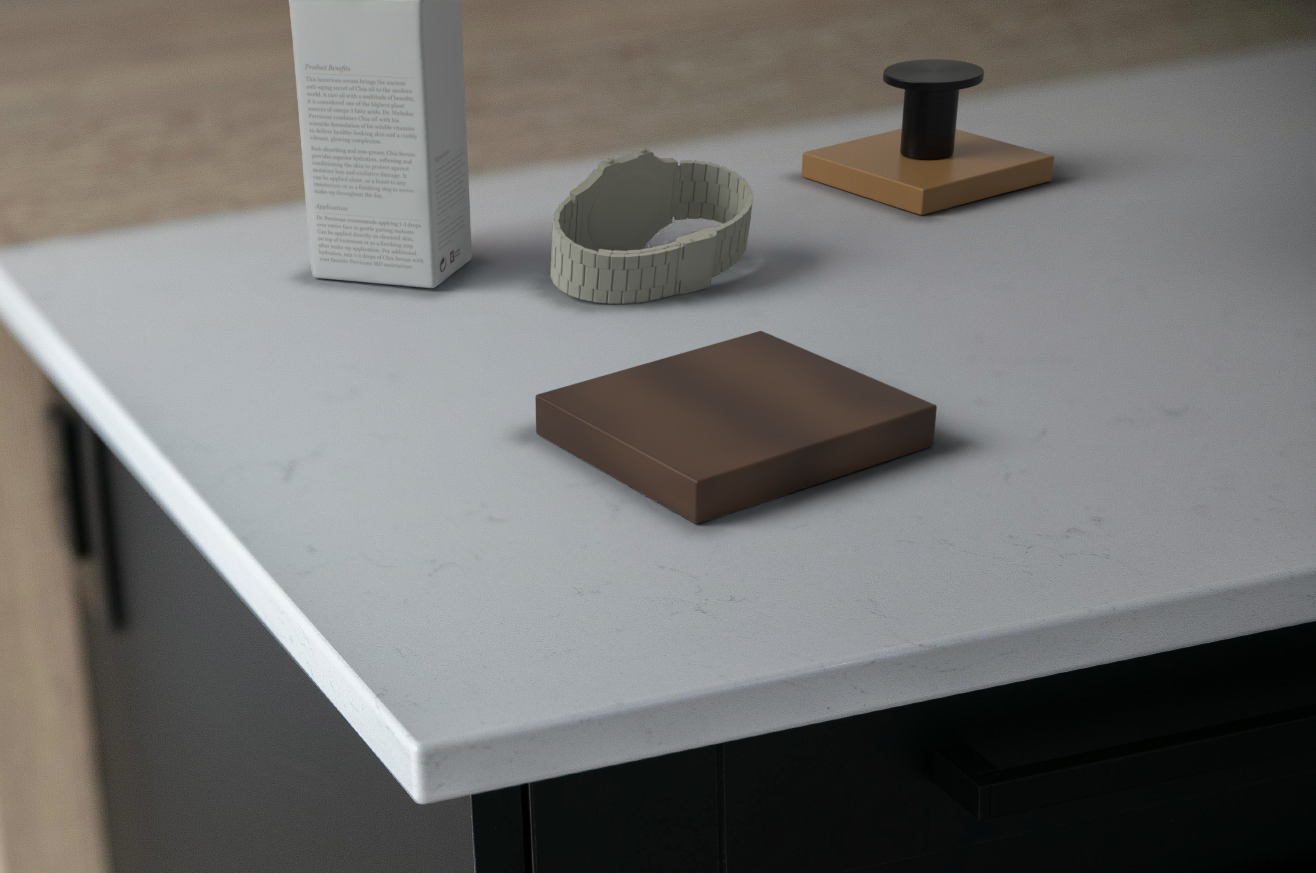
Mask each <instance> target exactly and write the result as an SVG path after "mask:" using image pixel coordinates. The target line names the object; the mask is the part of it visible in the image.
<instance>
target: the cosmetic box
mask: <svg viewBox="0 0 1316 873" xmlns="http://www.w3.org/2000/svg"><path fill="white" fill-rule="evenodd" d="M288 6H289V16H290V27H291V28H290V29H291V36H292V37H291V38H292V48H293V49H292V50H293V51H292V52H293V60H294V74H295V87H296V99H297V110H298V123H299V124H298V125H299V133H300V134H299V135H300V145H301V147H300V148H301V158H302V159H301V160H302V174H303V184H304V185H303V186H304V199H305V208H306V209H305V212H306V223H307V233H308V234H307V235H308V247H309V262H310V270H311V271H310V272H311V275H312V277H313V278H316V279H325V280H326V279H327V280H336V281H337V280H338V281H349V282H360V283H372V284H383V285H394V286H403V287H404V286H405V287H416V288H426V289H434V288H436V287H438V286H439V285H441V284H442V283H443V282H444V281H446V280H447V279H448V278H449V277H450V276H452V275H453V274H454V273H455V272H457V271H458V270H459V269H461V268H462V267H463V266H465V265H466V264H467V263H468V262H470V261H471V259H472V255H473V249H472V231H471V230H472V228H471V203H470V202H471V201H470V200H471V199H470V180H469V178H470V177H469V159H468V157H469V156H468V155H469V154H468V136H467V135H468V134H467V133H468V132H467V113H466V112H467V109H466V91H465V90H466V89H465V86H466V85H465V67H464V66H465V64H464V43H463V42H464V41H463V40H464V39H463V24H462V22H463V20H462V0H288Z"/></svg>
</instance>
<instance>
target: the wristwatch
mask: <svg viewBox="0 0 1316 873" xmlns="http://www.w3.org/2000/svg"><path fill="white" fill-rule="evenodd" d="M753 201H754V193H753V190H752V186H751V185H750V184H749V183H748V181H747V180H746V179H745V177H743V176H741V175H740V174H739V173H738V172H736V171H735V170H732V169H730V168H728V167H726V166H723V165H720V164H719V163H718V164H717V163H715V162H714V163H713V162H710V161H709V162H707V161H704V160H703V161H702V160H691V159H690V160H684V159H681V160H679V161H678V160H676V159H675V158H673V157H658V156H656V155H655V153H654V152H653V151H652V150H650V149H649V148H647V147H640V148H639V149H635V150H633V151H632V152H631V153H629V154H625V155H622V156H619V157H617V158H615V157H608V158H606V159H605V160H603V161H600V162H599V163H598V164H597V167H596V168H594V169H593V170H592V171H591V172H590V173H589V174H588V175H587V177H586V178H585V179H584V180H583V181H582V182H580V183H579V184H578V185H577V186H576V187H574V188H573V189H571V190H570V191H569V196H566V198H565V199H564V200H562V202H561V203H559V204H558V206H557V208H556V209H555V211H554V213H553V221H552V234H551V235H552V236H551V253H550V254H551V256H550V279H551V281H552V284H553V285H554V286H555V287H556V288H557V289H558V290H559V291H561V292H563V293H564V294H567V295H568V296H569V297H573V298H576V299H580V301H581V300H583V301H587V302H593V303H601V304H608V305H609V304H610V305H613V304H622V305H625V304H634V303H645V302H649V301H656V300H659V299H662V298H668V297H671V296H674V295H685V294H689V293H693V292H696V291H700V290H701V291H702V290H704V289H707V288H710V286H711V285H712V278H714V277H716V276H719V275H720V274H722V273H723V272H726V271H727V270H729V269H730V268H732V267H733V266H734V265H736V264H737V263H738V262H739V261H740V260H741V259H742V258H743V256H744V254H745V252H746V251H747V247H748V239H749V233H750V226H751V218H752V209H753V203H754V202H753ZM673 219H674V220H675V221H682V220H700V219H701V220H708V221H715V222H718V223H720V224H721V225H718V226H716V227H713V226H710V227H707V228H703V229H701V230H698V231H695V232H691V233H688V234H686V235H683V236H679V237H677V238H676V241H672V242H668V243H666V244H660V245H656V246H654V247H647V248H646V246H647V244H648V243H649V242H650V241H651V240H652V239H653V238H654V237H655V236H656V235H657V234H658V233H659V232H660V231H661V230H663V229H664V228H666V227H668V226H670V225H671V224H673Z"/></svg>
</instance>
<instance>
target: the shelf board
mask: <svg viewBox="0 0 1316 873" xmlns="http://www.w3.org/2000/svg"><path fill="white" fill-rule="evenodd" d="M937 410H938V406H937V405H936V404H935V403H932V402H930V401H927V400H926V399H923V398H920V397H918V396H915V395H913V394H911V393H908V392H907V391H904V390H901V389H899V388H897V387H895V386H892V385H889V384H887V383H885V382H883V381H881V380H878V379H876V378H873V377H871V376H868V375H866V374H864V373H861V372H859V371H856V370H855V369H852V368H850V367H847V366H845V365H843V364H840V363H838V362H835V361H833V360H831V359H829V358H827V357H824V356H821V355H819V354H817V353H814V352H812V351H810V350H807V349H805V348H803V347H801V346H798V345H796V344H793V343H791V342H789V341H787V340H784V339H782V338H780V337H778V336H774V335H773V334H771V333H768V332H765V331H763V330H758V331H755V332H750V333H748V334H743V335H740V336H737V337H733V338H729V339H726V340H723V341H720V342H716V343H712V344H709V345H705V346H702V347H699V348H695V349H692V350H688V351H684V352H680V353H677V354H673V355H670V356H667V357H663V358H660V359H657V360H653V361H649V362H646V363H643V364H639V365H635V366H631V367H629V368H625V369H621V370H618V371H614V372H611V373H608V374H603V375H600V376H597V377H593V378H590V379H586V380H582V381H580V382H576V383H572V384H569V385H566V386H562V387H558V388H555V389H552V390H548V391H544V392H541V393H537V394H536V395H535V433H536V435H538V436H540V437H542V438H543V439H544V440H547V441H548V442H551V443H552V444H554V445H555V446H557V447H559V448H561V449H562V450H565V451H566V452H568V453H570V454H571V455H573V456H575V457H577V458H578V459H581V460H582V461H584V462H586V463H587V464H589V465H590V466H593V467H594V468H596V469H598V470H599V471H601V472H603V473H605V474H607V475H609V476H611V477H612V478H614V479H615V480H617V481H619V482H621V483H623V484H624V485H626V486H628V487H630V488H631V489H633V490H634V491H637V492H638V493H641V494H642V495H644V496H646V497H647V498H649V499H651V500H653V501H655V502H656V503H658V504H660V505H661V506H663V507H665V508H667V509H669V510H670V511H672V512H674V513H675V514H678V515H679V516H681V517H683V518H684V519H686V520H688V521H690V522H691V523H693V524H700V523H703V522H707V521H710V520H713V519H716V518H718V517H719V518H720V517H722V516H725V515H729V514H731V513H734V512H737V511H740V510H743V509H746V508H749V507H752V506H755V505H758V504H761V503H764V502H767V501H770V500H774V499H776V498H779V497H782V496H785V495H789V494H791V493H794V492H797V491H800V490H803V489H806V488H810V487H813V486H817V485H819V484H822V483H825V482H827V481H830V480H834V479H836V478H841V477H843V476H846V475H849V474H852V473H855V472H858V471H861V470H865V469H867V468H870V467H873V466H877V465H880V464H882V463H885V462H889V461H891V460H893V459H897V458H900V457H903V456H906V455H909V454H912V453H915V452H918V451H921V450H924V449H928V448H930V447H933V446H934V443H935V431H936V420H937Z"/></svg>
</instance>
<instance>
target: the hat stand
mask: <svg viewBox="0 0 1316 873" xmlns="http://www.w3.org/2000/svg"><path fill="white" fill-rule="evenodd" d="M984 77H985V71H984V68H983V67H981V66H980V65H977V64H975V63H971V62H969V61H968V62H967V61H962V60H955V59H938V58H937V59H936V58H931V59H929V58H928V59H927V58H926V59H914V60H906V61H902V62H897V63H894V64H890V65H889V66H886V67H885V68H884V70H883V74H882V80H883V82H884V83H885V84H886V85H888V86H890V87H893V88H896V89H901V90H904V93H903V94H904V95H903V106H902V119H901V120H902V121H901V128H897V129H894V130H889V131H885V132H881V133H877V134H873V135H868V136H865V137H861V138H856V139H853V140H849V141H848V140H847V141H845V142H840V143H836V144H832V145H827V146H824V147H820V148H815V149H810V150H807V151H804V152H802V158H801V160H802V162H801V177H802V178H805V179H808V180H811V181H814V182H817V183H821V184H822V185H823V184H824V185H826V186H829V187H833V188H835V189H838V190H842V191H845V192H849V193H851V194H853V195H854V194H855V195H858V196H861V197H864V198H867V199H870V200H873V201H875V202H879V203H882V204H885V205H888V206H891V207H894V208H898V209H900V210H904V211H906V212H910V213H912V214H916V215H918V216H924V215H928V214H931V213H936V212H939V211H943V210H947V209H951V208H954V207H958V206H962V205H965V204H969V203H972V202H973V203H974V202H977V201H980V200H984V199H988V198H991V197H995V196H998V195H1003V194H1006V193H1010V192H1014V191H1019V190H1021V189H1025V188H1030V187H1032V186H1037V185H1040V184H1044V183H1048V182H1051V181H1052V179H1053V174H1054V173H1053V172H1054V164H1055V155H1053V154H1049V153H1046V152H1044V151H1043V152H1042V151H1038V150H1035V149H1031V148H1027V147H1024V146H1020V145H1016V144H1013V143H1009V142H1005V141H1002V140H999V139H998V140H997V139H994V138H991V137H988V136H984V135H979V134H976V133H973V132H968V131H966V130H961V129H957V119H958V108H959V96H960V90H966V89H970V88H973V87H976V86H979V85H980V84H981V83H982V82H984Z"/></svg>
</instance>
